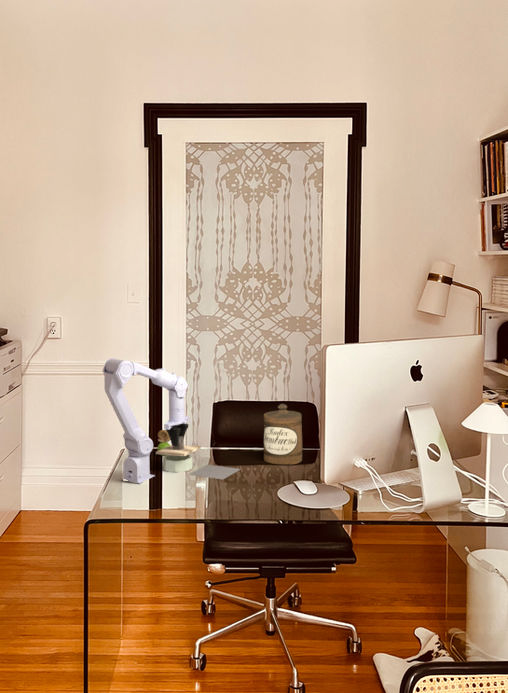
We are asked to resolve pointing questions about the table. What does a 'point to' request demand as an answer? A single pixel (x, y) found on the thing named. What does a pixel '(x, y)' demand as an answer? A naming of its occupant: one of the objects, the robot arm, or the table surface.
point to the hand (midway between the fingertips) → (177, 444)
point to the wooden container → (283, 436)
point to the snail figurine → (163, 440)
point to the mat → (214, 472)
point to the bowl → (177, 463)
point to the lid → (178, 449)
